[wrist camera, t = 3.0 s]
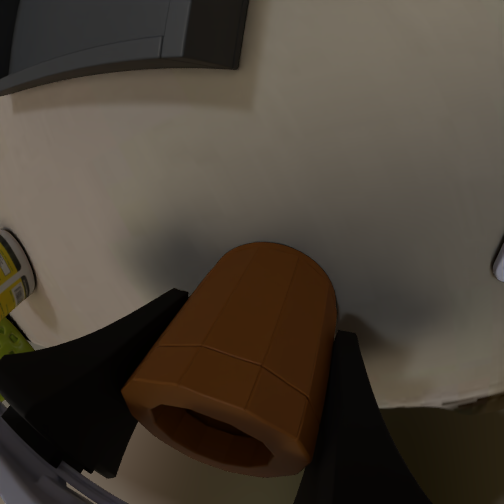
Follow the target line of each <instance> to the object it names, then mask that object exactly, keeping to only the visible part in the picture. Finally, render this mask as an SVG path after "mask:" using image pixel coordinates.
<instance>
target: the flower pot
mask: <svg viewBox="0 0 504 504" xmlns="http://www.w3.org/2000/svg"><path fill="white" fill-rule="evenodd" d="M31 351H35V350H34V349H33V348H32V346H31V345H30V344H29V343H28V341H27V340H26V339H25V338H24V336H23V335H22V334H21V333H20V332H19V331H18V330H17V328H16V327H15V326H14V325H13V324H12V323H11V322H10V321H9V320H8V319H7V318H6V317H4V318H3V319H2V320H1V321H0V359H1V358H2V357H3V356H4V355H7V354H16V353H24V352H31ZM4 400H5V399H4V398H3V396H2V395H1V394H0V401H1V402H2V401H4Z"/></svg>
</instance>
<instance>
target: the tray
mask: <svg viewBox="0 0 504 504" xmlns="http://www.w3.org/2000/svg"><path fill="white" fill-rule="evenodd" d="M247 6H248V0H0V96H4V95H8V94H11V93H15V92H18V91H21V90H25V89H28V88H32V87H36V86H40V85H44V84H48V83H52V82H57V81H62V80H67V79H72V78H77V77H83V76H89V75H95V74H103V73H110V72H119V71H129V70H142V69H160V68H214V69H233V70H237V69H238V65H239V58H240V51H241V44H242V37H243V31H244V24H245V18H246V12H247Z"/></svg>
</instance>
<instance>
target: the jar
mask: <svg viewBox="0 0 504 504" xmlns="http://www.w3.org/2000/svg"><path fill="white" fill-rule="evenodd" d="M336 319H337V310H336V297H335V292H334V289H333V286H332V283H331V281H330V280H329V278H328V276H327V275H326V273H325V272H324V271H323V269H322V268H321V267H320V266H319V265H318V264H317V263H316V262H315V261H313V260H312V259H311V258H310V257H308V256H306V255H305V254H303V253H302V252H300V251H298V250H295V249H293V248H291V247H288V246H285V245H281V244H276V243H268V242H256V243H249V244H245V245H242V246H238V247H236V248H234V249H232V250H230V251H229V252H228V253H226V254H225V255H224V256H223V257H222V258H221V259H220V260H219V261H218V262H217V264H216V265H215V266H214V267H213V268H212V270H211V271H210V272H209V273H208V274H207V275H206V277H205V278H204V279H203V280H202V282H201V283H200V284H199V286H198V287H197V288H196V290H195V291H194V292H193V293H192V295H191V296H190V297H189V299H188V300H187V301H186V303H185V304H184V305H183V307H182V308H181V309H180V311H179V312H178V313H177V314H176V316H175V317H174V318H173V320H172V321H171V322H170V324H169V325H168V326H167V328H166V329H165V330H164V332H163V333H162V334H161V336H160V337H159V338H158V340H157V341H156V342H155V344H154V345H153V346H152V348H151V349H150V350H149V352H148V353H147V354H146V356H145V357H144V359H143V360H142V362H141V363H140V364H139V365H138V367H137V368H136V369H135V371H134V372H133V373H132V375H131V376H130V378H129V379H128V380H127V382H126V383H125V384H124V386H123V387H122V389H121V393H122V395H123V398H124V400H125V402H126V404H127V406H128V408H129V411H130V412H131V414H132V416H133V417H134V418H136V419H137V420H138V421H139V422H140V423H141V424H142V425H143V426H144V427H145V428H146V429H147V430H148V431H149V432H151V433H152V434H153V435H154V436H155V437H157V438H158V439H160V440H161V441H163V442H164V443H166V444H168V445H169V446H171V447H173V448H174V449H176V450H178V451H179V452H181V453H183V454H185V455H187V456H188V457H190V458H192V459H195V460H197V461H200V462H202V463H205V464H208V465H210V466H213V467H216V468H219V469H222V470H224V471H229V472H232V473H238V474H243V475H250V476H256V477H263V478H264V477H266V478H269V477H279V476H289V475H295V474H298V473H299V472H300V471H302V470H303V469H304V468H305V467H306V466H307V465H308V464H309V463H311V461H312V458H313V454H314V449H315V445H316V441H317V436H318V431H319V425H320V423H321V417H322V412H323V407H324V402H325V396H326V390H327V384H328V378H329V372H330V365H331V358H332V351H333V344H334V336H335V328H336Z"/></svg>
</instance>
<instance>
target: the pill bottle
mask: <svg viewBox="0 0 504 504" xmlns="http://www.w3.org/2000/svg"><path fill="white" fill-rule="evenodd" d="M34 287H35V281H34V276H33V272H32V269H31V266H30V264H29V261H28V259H27V257H26V255H25V253H24V251H23V249H22V247H21V246H20V244H19V243H18V242H17V240H16V239H15V238H14V237H13V236H12V235H11V234H10V233H9V232H7V231H5V230H0V321H1V320H2V319H3V318H4V317H5V316H7V315H8V314H9V313H10V312H11V311H12V310H13V309H14V308H15V307H17V306H18V305H19V304H20V303H21V302H22V301H23V300H25V299H26V298H27V297H28V296H29V295H30V294H31V293H32V292H33V290H34Z"/></svg>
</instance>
